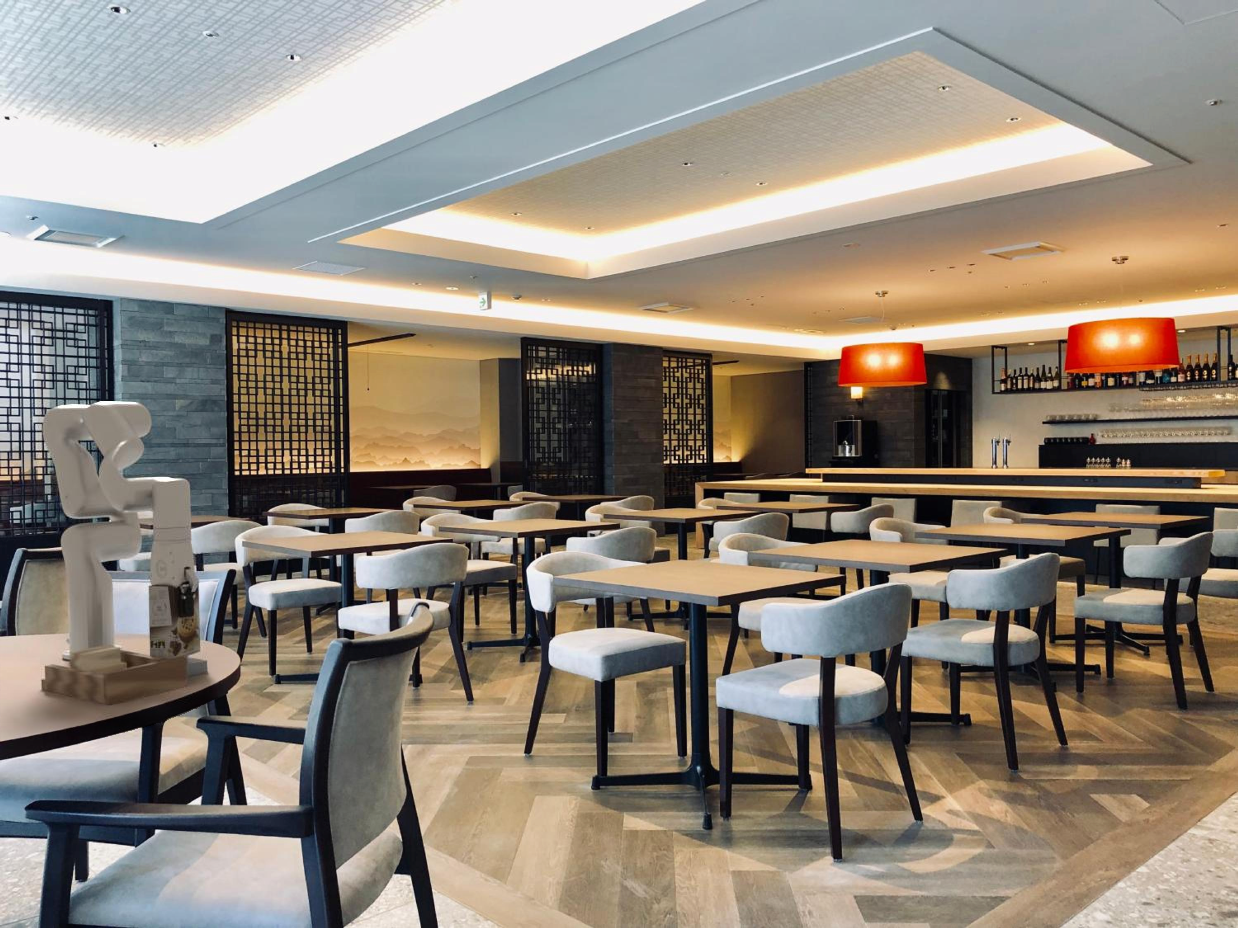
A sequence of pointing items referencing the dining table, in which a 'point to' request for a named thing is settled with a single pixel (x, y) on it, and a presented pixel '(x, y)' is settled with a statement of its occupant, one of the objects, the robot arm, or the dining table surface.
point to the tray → (119, 679)
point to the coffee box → (172, 624)
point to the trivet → (195, 666)
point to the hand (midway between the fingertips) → (174, 614)
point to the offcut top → (95, 658)
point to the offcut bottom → (109, 668)
